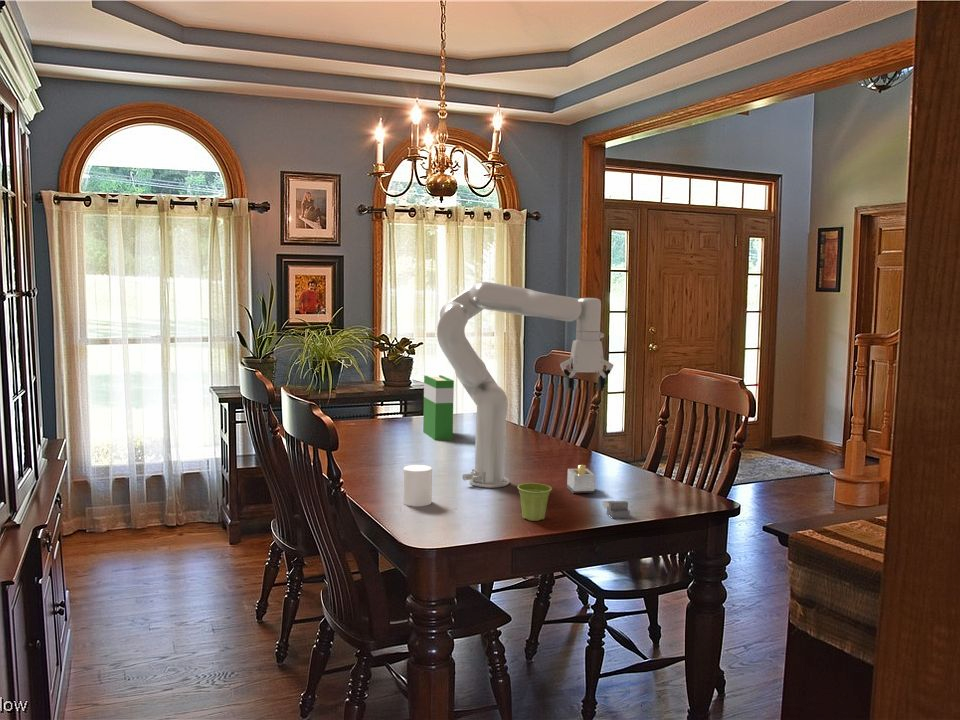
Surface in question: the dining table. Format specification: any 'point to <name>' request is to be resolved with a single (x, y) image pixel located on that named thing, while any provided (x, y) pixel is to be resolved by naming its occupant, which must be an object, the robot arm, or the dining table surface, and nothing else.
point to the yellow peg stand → (580, 471)
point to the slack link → (605, 504)
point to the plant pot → (534, 500)
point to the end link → (581, 480)
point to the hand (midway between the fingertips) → (585, 389)
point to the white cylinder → (417, 485)
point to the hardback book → (438, 407)
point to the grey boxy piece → (618, 509)
